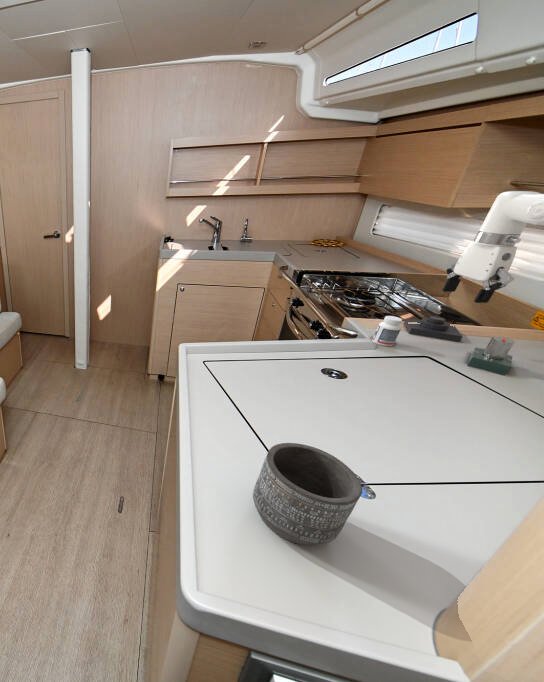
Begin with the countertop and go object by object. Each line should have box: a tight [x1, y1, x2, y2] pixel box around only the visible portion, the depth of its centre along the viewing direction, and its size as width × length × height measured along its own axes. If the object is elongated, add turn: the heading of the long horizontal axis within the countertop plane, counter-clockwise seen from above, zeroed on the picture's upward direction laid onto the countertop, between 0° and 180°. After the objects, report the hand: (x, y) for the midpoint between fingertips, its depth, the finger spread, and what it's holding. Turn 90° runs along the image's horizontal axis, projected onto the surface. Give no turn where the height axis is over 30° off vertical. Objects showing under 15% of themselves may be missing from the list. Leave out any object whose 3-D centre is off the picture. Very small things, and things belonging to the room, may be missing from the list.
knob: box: [482, 335, 516, 360], centre depth 99 cm, size 4×4×6 cm
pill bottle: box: [371, 315, 403, 347], centre depth 114 cm, size 5×5×9 cm
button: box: [428, 315, 446, 325], centre depth 119 cm, size 4×4×2 cm
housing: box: [403, 317, 464, 343], centre depth 120 cm, size 12×10×4 cm
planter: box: [252, 442, 363, 546], centre depth 58 cm, size 12×12×13 cm
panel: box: [466, 346, 517, 376], centre depth 101 cm, size 9×8×3 cm
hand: (463, 296), depth 106 cm, fingers open, 9 cm apart
